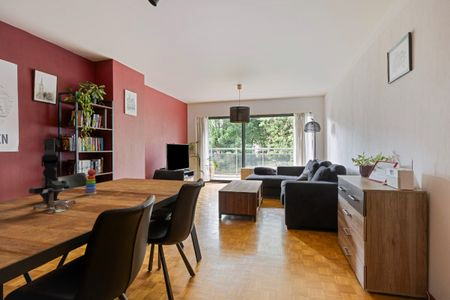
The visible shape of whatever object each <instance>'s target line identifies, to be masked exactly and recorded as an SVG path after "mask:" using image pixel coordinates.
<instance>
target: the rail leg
mask: <svg viewBox="0 0 450 300" xmlns="http://www.w3.org/2000/svg"><path fill="white" fill-rule="evenodd" d="M76 202H77V201H76V200H75V199H72V200H69V199H68V198H65V199H64V198H63V199H59V200H56V201H55V203H54V207H53V208H55V209H57V208H58V206H55V204H60V205H66V204H70V203H72V204H73V205H74V204H76ZM34 205H35V204H34ZM34 205H33V207H32V210H33V211H35V210H37V208H36V207H34ZM35 206H41V207H44V206H47V204H46V203H45V202H44V203H41V204H36V205H35Z"/></svg>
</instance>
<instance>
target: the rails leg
mask: <svg viewBox="0 0 450 300" xmlns="http://www.w3.org/2000/svg"><path fill="white" fill-rule="evenodd" d="M54 205H55V206H57V207H62V208H65V210H66V211H68V210H69V205H67V204H61V205H60V204H58V203H54ZM33 206H34V207H36V209H43V210H50V211H53V212H52V214H56V213H57V212H56V210H57V208H54V207H53V208H48V207H47V206H35V204H34V205H33Z"/></svg>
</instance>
